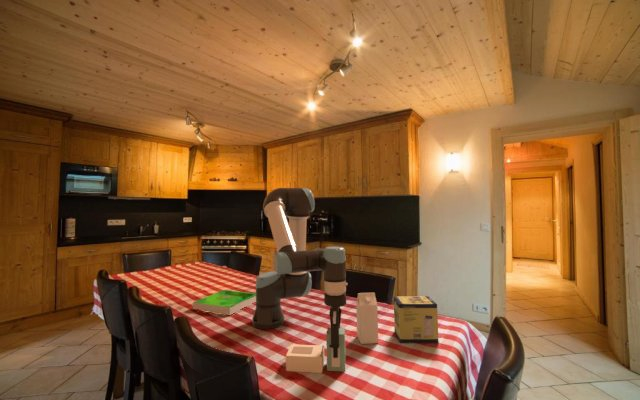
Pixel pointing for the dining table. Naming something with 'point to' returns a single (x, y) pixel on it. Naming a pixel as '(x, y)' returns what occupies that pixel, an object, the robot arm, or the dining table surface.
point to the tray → (225, 302)
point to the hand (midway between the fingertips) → (336, 361)
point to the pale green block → (342, 350)
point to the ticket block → (305, 358)
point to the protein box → (415, 319)
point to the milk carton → (367, 318)
